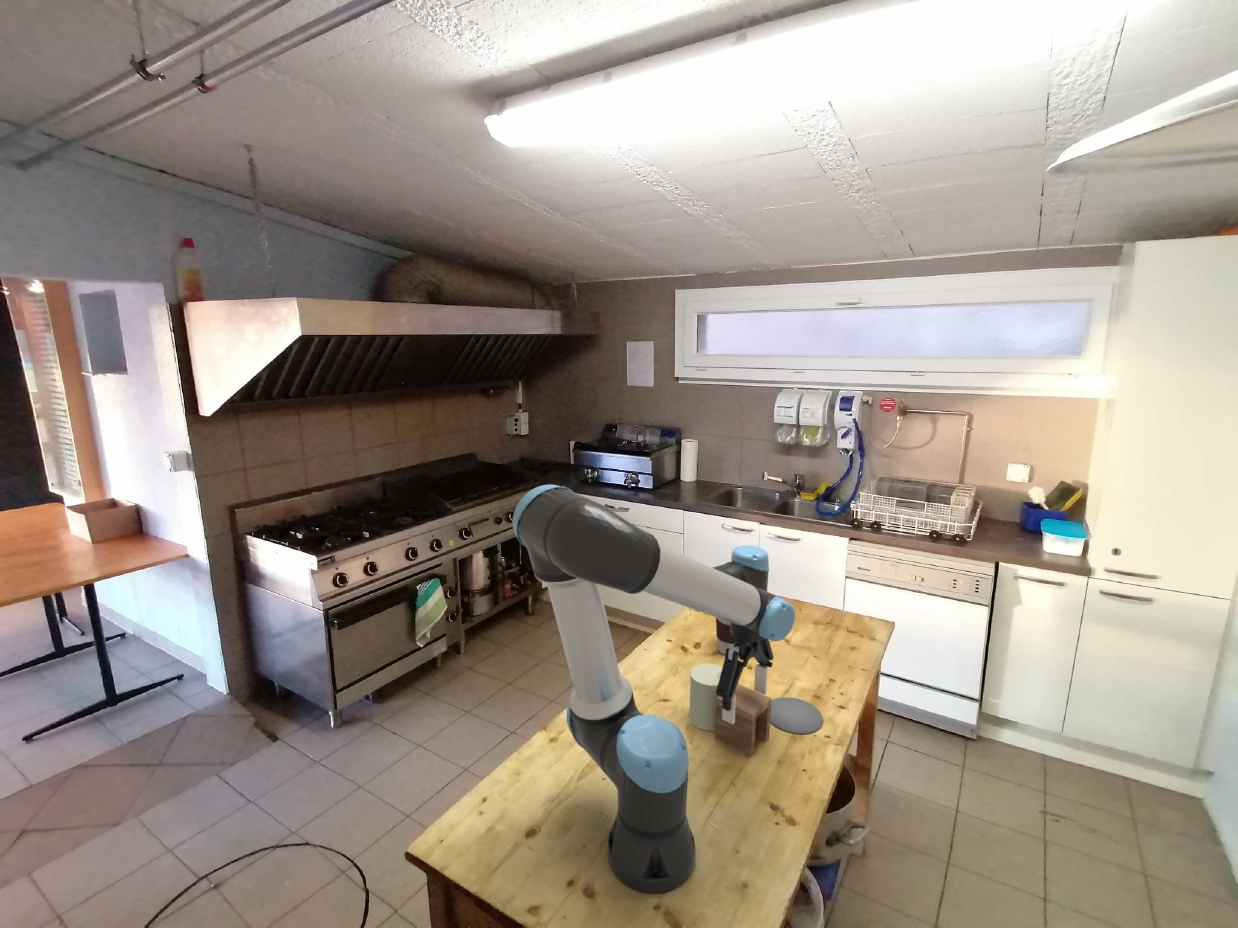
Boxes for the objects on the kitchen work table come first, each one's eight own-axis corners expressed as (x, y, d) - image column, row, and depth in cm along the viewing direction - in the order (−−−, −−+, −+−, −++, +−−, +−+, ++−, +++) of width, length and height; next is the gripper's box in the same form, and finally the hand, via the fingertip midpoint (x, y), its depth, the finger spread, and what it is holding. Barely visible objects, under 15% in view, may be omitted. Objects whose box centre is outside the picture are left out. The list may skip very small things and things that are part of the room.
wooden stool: (750, 756, 126) (752, 715, 124) (714, 737, 132) (716, 698, 130) (768, 738, 132) (771, 698, 130) (733, 720, 138) (735, 682, 135)
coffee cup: (753, 647, 170) (755, 599, 167) (740, 663, 162) (743, 612, 159) (721, 638, 175) (723, 591, 172) (707, 652, 167) (709, 603, 164)
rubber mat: (807, 742, 130) (807, 739, 130) (755, 717, 139) (755, 714, 139) (831, 714, 140) (831, 712, 140) (781, 692, 148) (781, 690, 148)
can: (727, 733, 133) (730, 685, 131) (687, 728, 135) (688, 680, 133) (728, 708, 142) (730, 663, 140) (690, 703, 144) (691, 659, 141)
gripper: (732, 647, 114) (729, 742, 119) (791, 602, 132) (787, 686, 137) (699, 634, 119) (698, 726, 124) (761, 593, 137) (758, 674, 142)
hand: (744, 705), depth 130 cm, fingers open, 13 cm apart
